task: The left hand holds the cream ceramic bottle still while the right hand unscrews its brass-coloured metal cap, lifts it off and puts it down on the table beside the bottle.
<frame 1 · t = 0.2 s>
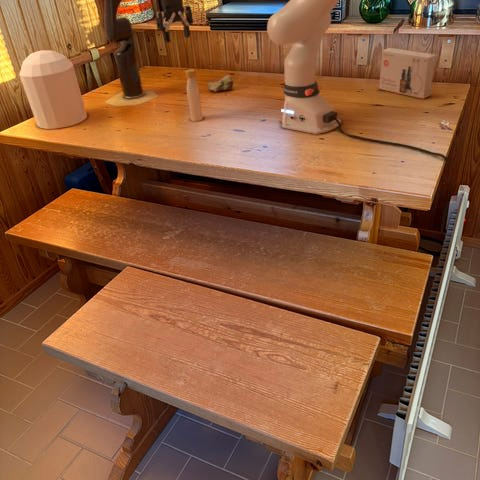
left hand: (177, 39, 171), 29 cm above the table, tool pointing down, fingers open, 8 cm apart
bottle: (196, 119, 184), on the table
skincare box: (403, 93, 189), on the table
rock: (221, 89, 213), on the table
container: (62, 120, 197), on the table
cap: (190, 71, 173), point 19 cm above the table, screwed on, not yet turned
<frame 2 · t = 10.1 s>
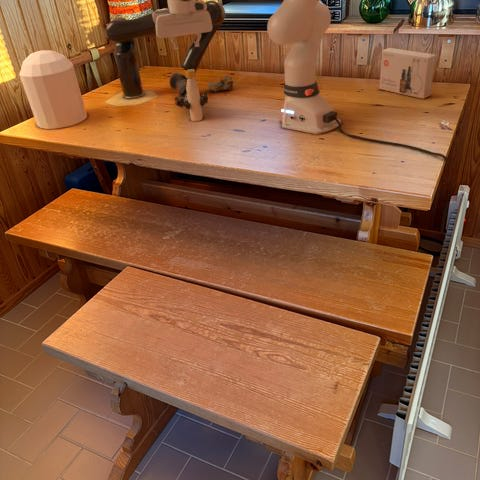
left hand: (195, 105, 178), 6 cm above the table, tool horizontal, fingers closed on bottle, 5 cm apart
right hand: (186, 48, 169), 27 cm above the table, tool pointing down, fingers open, 6 cm apart
bottle: (196, 119, 184), on the table, touching left hand
everything else where it was.
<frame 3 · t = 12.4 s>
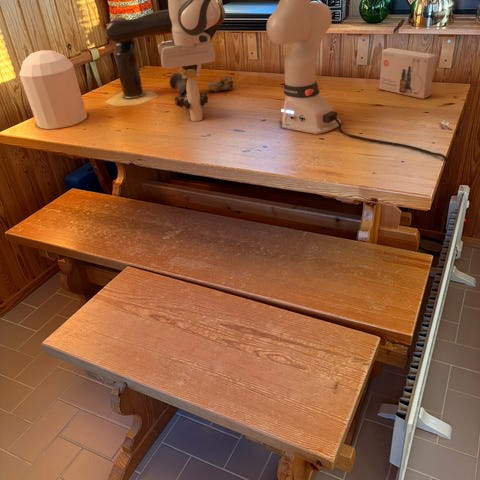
left hand: (195, 105, 178), 6 cm above the table, tool horizontal, fingers closed on bottle, 5 cm apart
right hand: (190, 77, 175), 16 cm above the table, tool pointing down, fingers closed on cap, 4 cm apart
bottle: (196, 119, 184), on the table, touching left hand
cap: (190, 71, 173), point 19 cm above the table, screwed on, not yet turned, touching right hand
everything else where it was.
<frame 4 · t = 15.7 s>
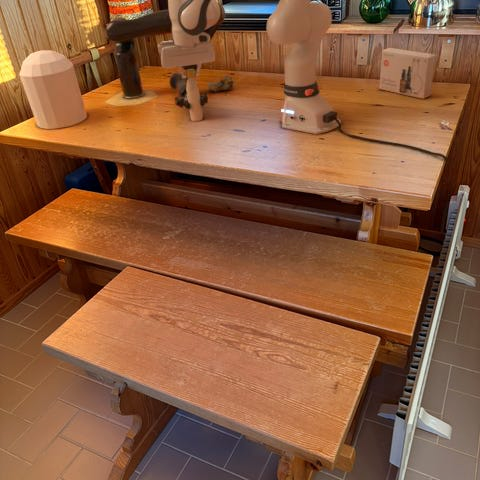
left hand: (195, 105, 178), 6 cm above the table, tool horizontal, fingers closed on bottle, 5 cm apart
right hand: (190, 77, 175), 16 cm above the table, tool pointing down, fingers closed on cap, 4 cm apart
bottle: (196, 119, 184), on the table, touching left hand
cap: (189, 71, 173), point 19 cm above the table, turned 88° so far, risen 0.1 cm, still on its thread, touching right hand
everything else where it was.
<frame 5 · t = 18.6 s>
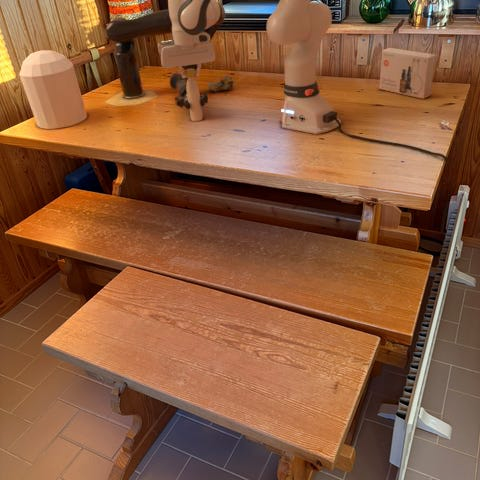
left hand: (196, 105, 178), 6 cm above the table, tool horizontal, fingers closed on bottle, 5 cm apart
right hand: (190, 76, 175), 16 cm above the table, tool pointing down, fingers closed on cap, 4 cm apart
bottle: (196, 119, 184), on the table, touching left hand
cap: (189, 70, 173), point 19 cm above the table, turned 175° so far, risen 0.2 cm, still on its thread, touching right hand
everything else where it was.
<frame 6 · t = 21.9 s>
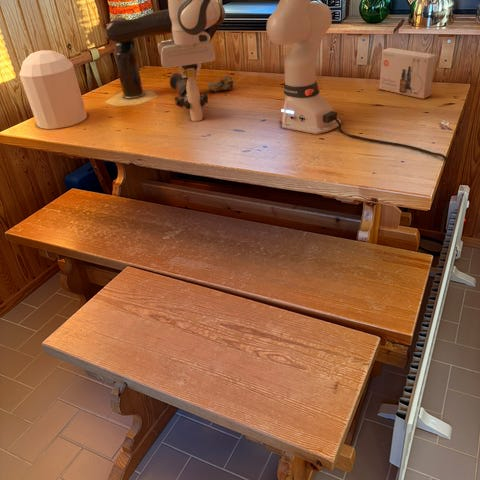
left hand: (196, 105, 178), 6 cm above the table, tool horizontal, fingers closed on bottle, 5 cm apart
right hand: (190, 76, 175), 17 cm above the table, tool pointing down, fingers closed on cap, 4 cm apart
bottle: (196, 119, 184), on the table, touching left hand
cap: (189, 70, 173), point 19 cm above the table, turned 263° so far, risen 0.3 cm, still on its thread, touching right hand
everything else where it was.
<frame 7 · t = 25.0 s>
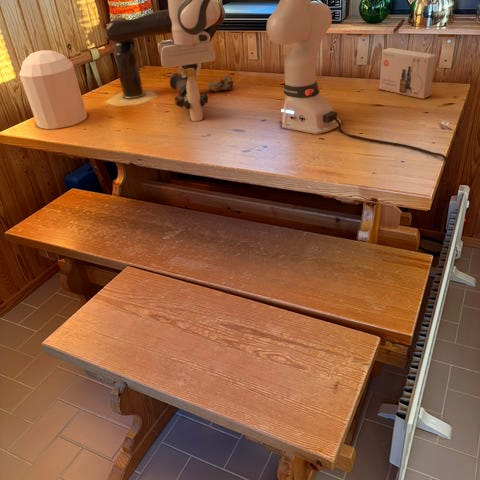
left hand: (196, 105, 178), 6 cm above the table, tool horizontal, fingers closed on bottle, 5 cm apart
right hand: (190, 76, 174), 17 cm above the table, tool pointing down, fingers closed on cap, 4 cm apart
bottle: (196, 118, 184), on the table, touching left hand
cap: (189, 70, 173), point 19 cm above the table, turned 350° so far, risen 0.3 cm, still on its thread, touching right hand
everything else where it was.
when the right hand's fingers open (2 cm above the table, at t = 34.7 s): cap drops 2 cm, point 2 cm above the table.
when the left hand's fingers open (6 cm above the table, at t = 35.9 s): bottle stays where it is, on the table.
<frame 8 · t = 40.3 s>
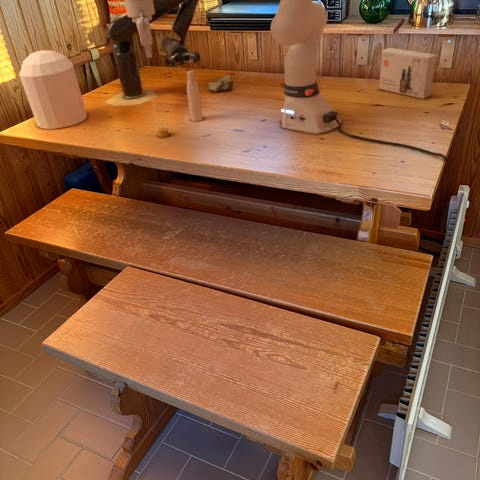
left hand: (185, 62, 181), 19 cm above the table, tool horizontal, fingers open, 8 cm apart
right hand: (148, 54, 156), 29 cm above the table, tool pointing down, fingers open, 8 cm apart
bottle: (197, 119, 184), on the table
cap: (162, 130, 171), point 2 cm above the table, off its thread
everything else where it was.
at the end: cap came off its thread; cap point 2.0 cm above the table; the left hand is holding nothing; the right hand is holding nothing; bottle tilted 0°; bottle moved 0.1 cm from its start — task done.
